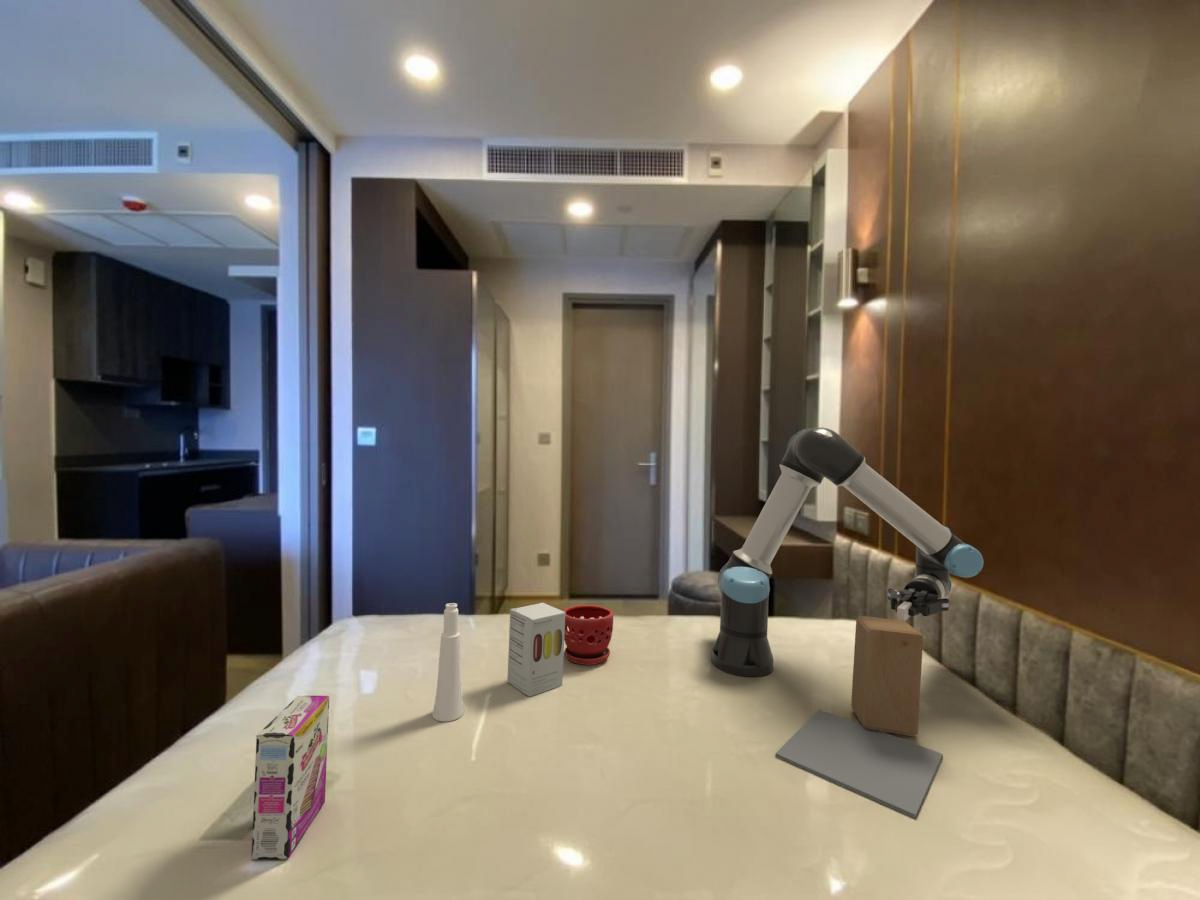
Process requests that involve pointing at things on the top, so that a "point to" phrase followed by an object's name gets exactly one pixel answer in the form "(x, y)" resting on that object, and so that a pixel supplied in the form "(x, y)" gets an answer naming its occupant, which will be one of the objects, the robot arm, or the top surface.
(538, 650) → the supplement box
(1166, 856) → the top surface
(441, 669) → the cosmetic bottle
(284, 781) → the candy bar box
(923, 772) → the mat
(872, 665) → the wooden block
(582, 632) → the plant pot
